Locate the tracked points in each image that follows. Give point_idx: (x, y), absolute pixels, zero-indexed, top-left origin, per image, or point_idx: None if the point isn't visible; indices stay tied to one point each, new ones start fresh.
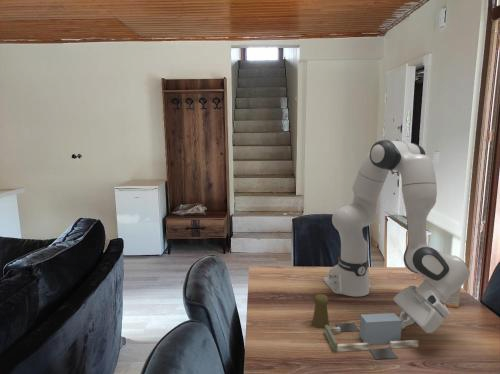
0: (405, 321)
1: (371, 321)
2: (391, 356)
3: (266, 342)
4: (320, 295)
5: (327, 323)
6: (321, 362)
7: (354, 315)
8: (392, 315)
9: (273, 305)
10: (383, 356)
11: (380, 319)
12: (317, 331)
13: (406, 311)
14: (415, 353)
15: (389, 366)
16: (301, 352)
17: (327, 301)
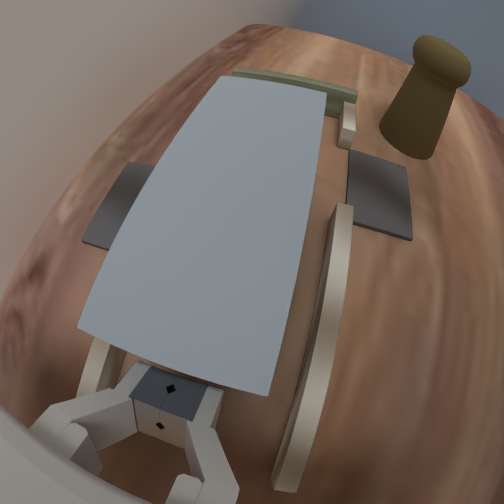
0: (90, 395)
1: (215, 94)
2: (99, 221)
3: (323, 44)
4: (450, 44)
5: (394, 132)
6: (211, 67)
7: (471, 289)
8: (216, 316)
9: (476, 117)
10: (118, 192)
11: (205, 147)
12: (361, 108)
13: (102, 492)
14: (63, 350)
15: (79, 186)
16: (267, 57)
17: (429, 54)
